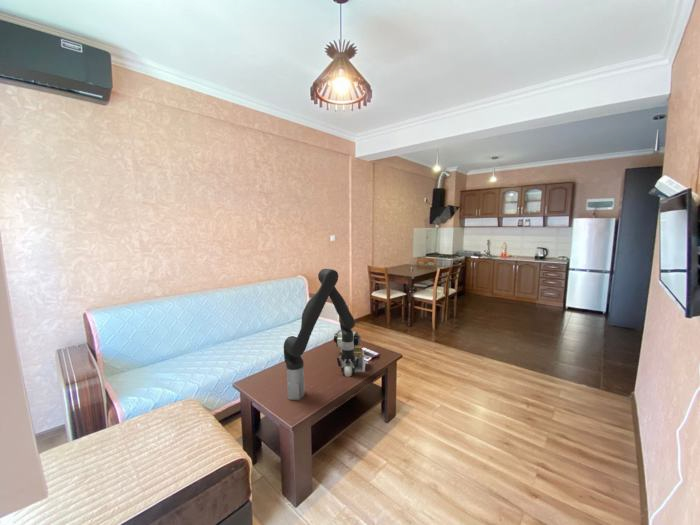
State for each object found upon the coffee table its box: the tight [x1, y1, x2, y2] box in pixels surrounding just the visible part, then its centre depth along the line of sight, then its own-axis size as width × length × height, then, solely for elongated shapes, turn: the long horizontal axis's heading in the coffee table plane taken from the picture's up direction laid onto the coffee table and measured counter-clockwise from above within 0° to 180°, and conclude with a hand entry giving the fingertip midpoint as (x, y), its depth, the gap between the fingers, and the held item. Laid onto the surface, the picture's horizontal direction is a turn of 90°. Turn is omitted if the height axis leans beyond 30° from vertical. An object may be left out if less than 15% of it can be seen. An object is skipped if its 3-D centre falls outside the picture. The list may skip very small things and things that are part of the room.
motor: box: [353, 346, 367, 373], centre depth 193 cm, size 12×10×12 cm
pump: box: [343, 363, 353, 377], centre depth 184 cm, size 5×5×7 cm
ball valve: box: [333, 329, 362, 354], centre depth 210 cm, size 18×8×18 cm, turn 73°
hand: (348, 372), depth 185 cm, fingers open, 5 cm apart
